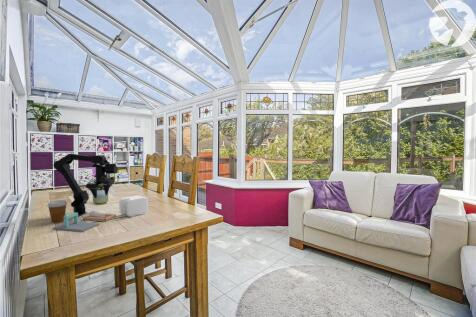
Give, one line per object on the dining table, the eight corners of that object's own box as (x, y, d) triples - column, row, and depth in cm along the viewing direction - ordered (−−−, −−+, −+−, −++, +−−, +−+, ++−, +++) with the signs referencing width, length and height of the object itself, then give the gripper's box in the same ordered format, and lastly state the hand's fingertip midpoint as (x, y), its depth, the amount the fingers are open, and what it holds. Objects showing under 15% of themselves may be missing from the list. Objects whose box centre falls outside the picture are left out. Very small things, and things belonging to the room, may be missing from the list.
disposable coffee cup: (46, 224, 136) (45, 204, 135) (50, 220, 144) (49, 201, 144) (66, 222, 140) (65, 202, 140) (69, 218, 149) (68, 199, 148)
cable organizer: (126, 218, 148) (126, 200, 148) (119, 215, 155) (118, 198, 154) (148, 213, 160) (148, 196, 159) (140, 210, 167) (140, 194, 166)
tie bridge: (64, 226, 130) (63, 216, 129) (75, 222, 137) (75, 212, 136) (67, 226, 129) (66, 216, 129) (78, 222, 136) (78, 212, 136)
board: (53, 229, 129) (52, 227, 129) (70, 222, 140) (70, 221, 140) (83, 231, 125) (83, 230, 125) (99, 225, 136) (99, 223, 136)
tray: (83, 219, 145) (83, 217, 145) (95, 215, 154) (95, 212, 154) (105, 221, 142) (105, 218, 142) (116, 217, 151) (116, 214, 151)
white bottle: (88, 216, 147) (91, 209, 148) (93, 217, 150) (95, 211, 152) (103, 217, 144) (106, 211, 146) (108, 218, 148) (110, 212, 150)
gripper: (99, 175, 146) (100, 200, 147) (120, 172, 164) (121, 194, 165) (84, 175, 148) (85, 199, 149) (106, 172, 166) (107, 193, 167)
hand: (101, 196), depth 157 cm, fingers open, 9 cm apart
